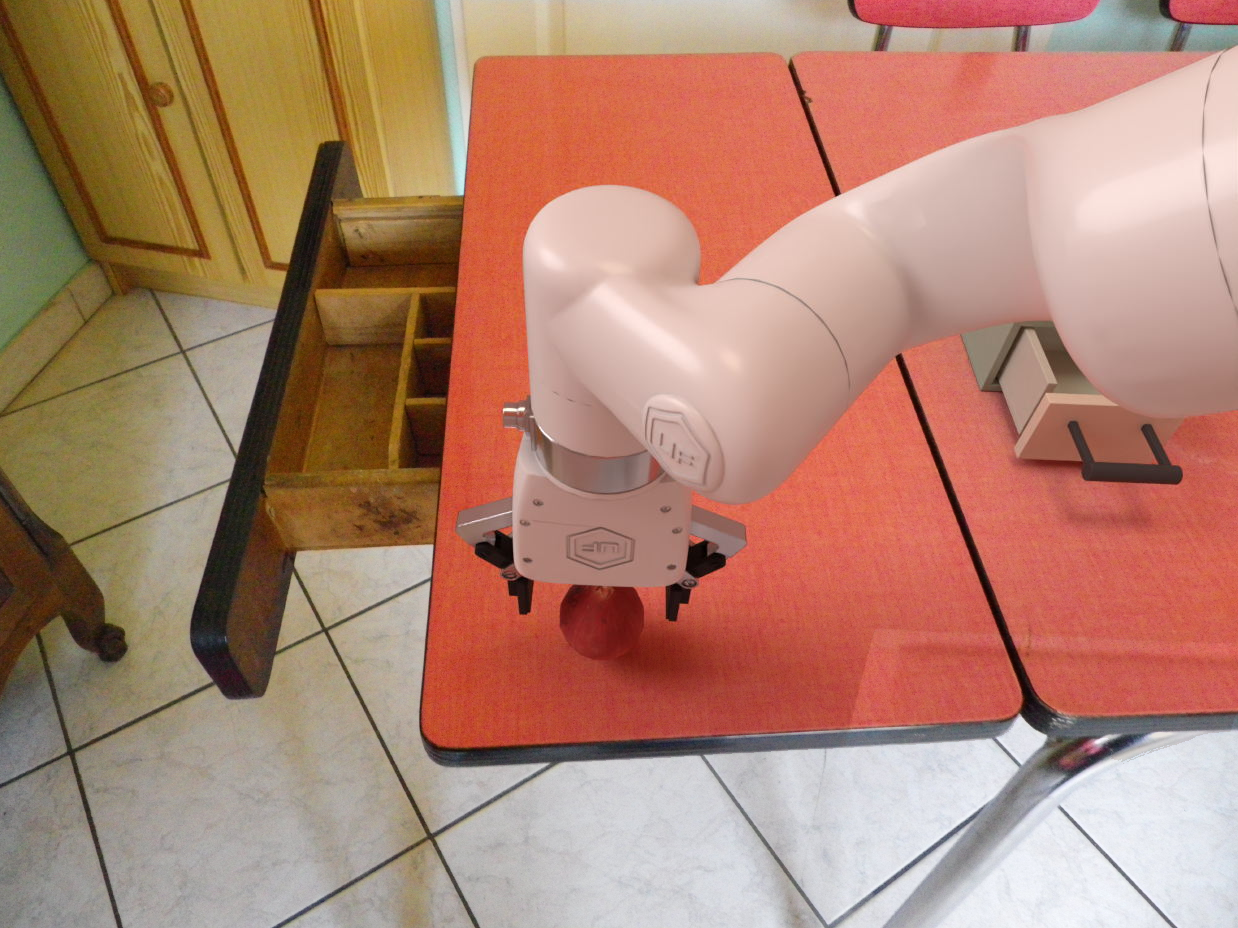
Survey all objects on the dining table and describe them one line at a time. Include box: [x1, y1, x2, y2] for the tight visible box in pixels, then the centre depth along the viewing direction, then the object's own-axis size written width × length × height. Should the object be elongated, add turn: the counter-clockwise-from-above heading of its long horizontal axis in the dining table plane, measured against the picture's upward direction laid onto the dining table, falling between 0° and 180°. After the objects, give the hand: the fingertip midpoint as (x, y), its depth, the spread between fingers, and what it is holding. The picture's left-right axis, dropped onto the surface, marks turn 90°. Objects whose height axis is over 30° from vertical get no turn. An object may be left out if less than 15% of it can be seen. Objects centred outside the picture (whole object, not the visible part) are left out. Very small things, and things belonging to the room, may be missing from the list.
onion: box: [558, 584, 645, 661], centre depth 58 cm, size 6×6×8 cm
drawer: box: [997, 326, 1187, 486], centre depth 72 cm, size 19×11×7 cm, turn 178°
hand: (599, 599), depth 57 cm, fingers open, 9 cm apart
